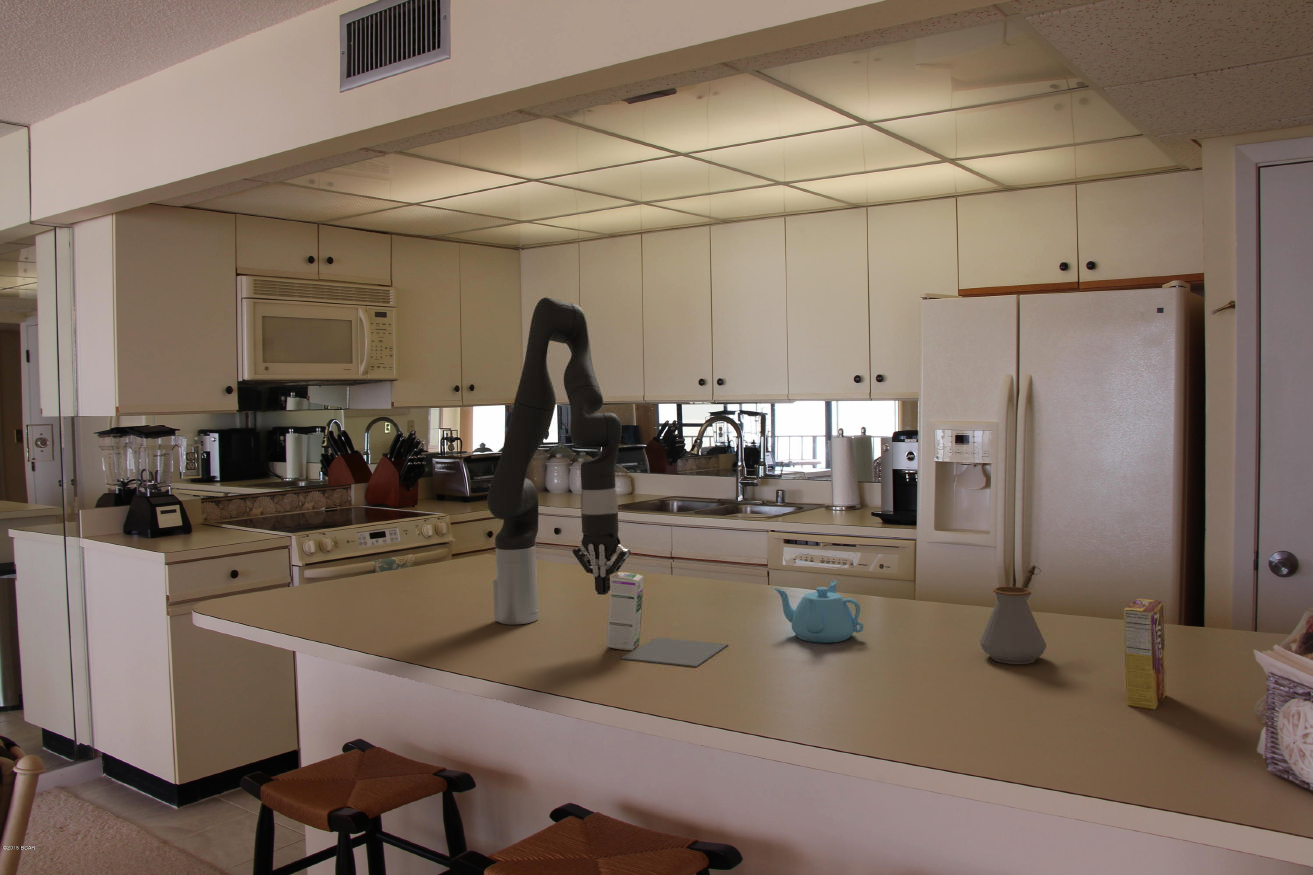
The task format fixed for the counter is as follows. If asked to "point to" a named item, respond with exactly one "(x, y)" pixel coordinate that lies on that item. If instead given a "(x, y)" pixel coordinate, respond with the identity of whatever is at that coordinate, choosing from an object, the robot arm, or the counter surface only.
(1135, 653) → the candy box
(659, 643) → the mat
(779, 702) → the counter surface
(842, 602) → the teapot
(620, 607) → the syrup box
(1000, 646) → the coffee pot
